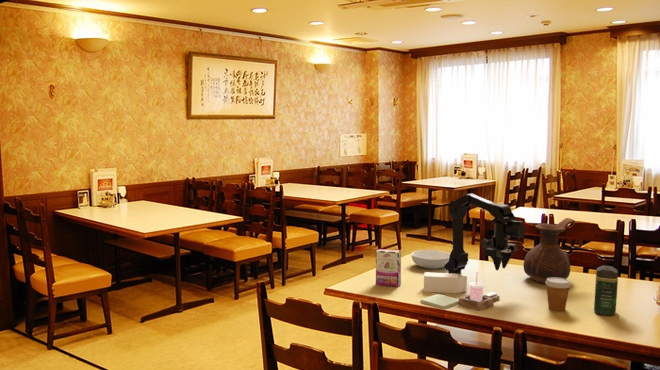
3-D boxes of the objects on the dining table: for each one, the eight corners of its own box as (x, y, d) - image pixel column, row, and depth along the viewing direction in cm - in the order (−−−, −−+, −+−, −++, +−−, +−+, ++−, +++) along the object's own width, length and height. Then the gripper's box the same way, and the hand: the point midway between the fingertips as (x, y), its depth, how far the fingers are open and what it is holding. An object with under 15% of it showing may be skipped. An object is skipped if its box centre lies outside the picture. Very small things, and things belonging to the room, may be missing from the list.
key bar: (491, 297, 241) (491, 292, 241) (496, 298, 239) (496, 293, 239) (483, 300, 237) (484, 294, 237) (489, 301, 235) (489, 296, 235)
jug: (566, 289, 253) (569, 224, 250) (518, 282, 265) (520, 220, 262) (574, 278, 272) (576, 217, 269) (528, 272, 283) (530, 214, 280)
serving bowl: (410, 271, 286) (410, 258, 285) (411, 261, 306) (411, 249, 306) (452, 272, 282) (452, 259, 282) (450, 263, 303) (450, 250, 302)
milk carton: (423, 291, 250) (466, 293, 246) (423, 276, 249) (467, 278, 246) (424, 287, 257) (466, 289, 253) (424, 272, 256) (466, 274, 252)
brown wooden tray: (483, 295, 244) (484, 288, 244) (504, 300, 237) (505, 293, 236) (458, 304, 231) (458, 297, 231) (479, 310, 224) (480, 303, 223)
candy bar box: (401, 284, 261) (401, 250, 260) (398, 287, 257) (398, 252, 255) (378, 282, 265) (378, 248, 264) (375, 284, 261) (375, 250, 259)
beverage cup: (472, 301, 235) (473, 269, 234) (486, 304, 231) (487, 271, 230) (465, 305, 230) (466, 272, 229) (479, 308, 226) (480, 275, 225)
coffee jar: (616, 317, 216) (618, 270, 214) (593, 314, 219) (595, 268, 217) (615, 310, 224) (618, 265, 222) (594, 307, 228) (596, 263, 226)
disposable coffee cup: (568, 306, 229) (569, 278, 228) (570, 313, 220) (571, 284, 219) (543, 304, 232) (545, 276, 231) (544, 311, 223) (545, 282, 222)
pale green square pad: (437, 296, 243) (437, 293, 242) (461, 302, 234) (461, 300, 234) (420, 302, 235) (420, 299, 234) (444, 309, 226) (444, 306, 226)
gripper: (496, 228, 253) (495, 262, 254) (473, 234, 240) (472, 269, 242) (519, 232, 244) (517, 266, 246) (496, 237, 232) (495, 274, 233)
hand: (500, 269), depth 242 cm, fingers open, 5 cm apart
